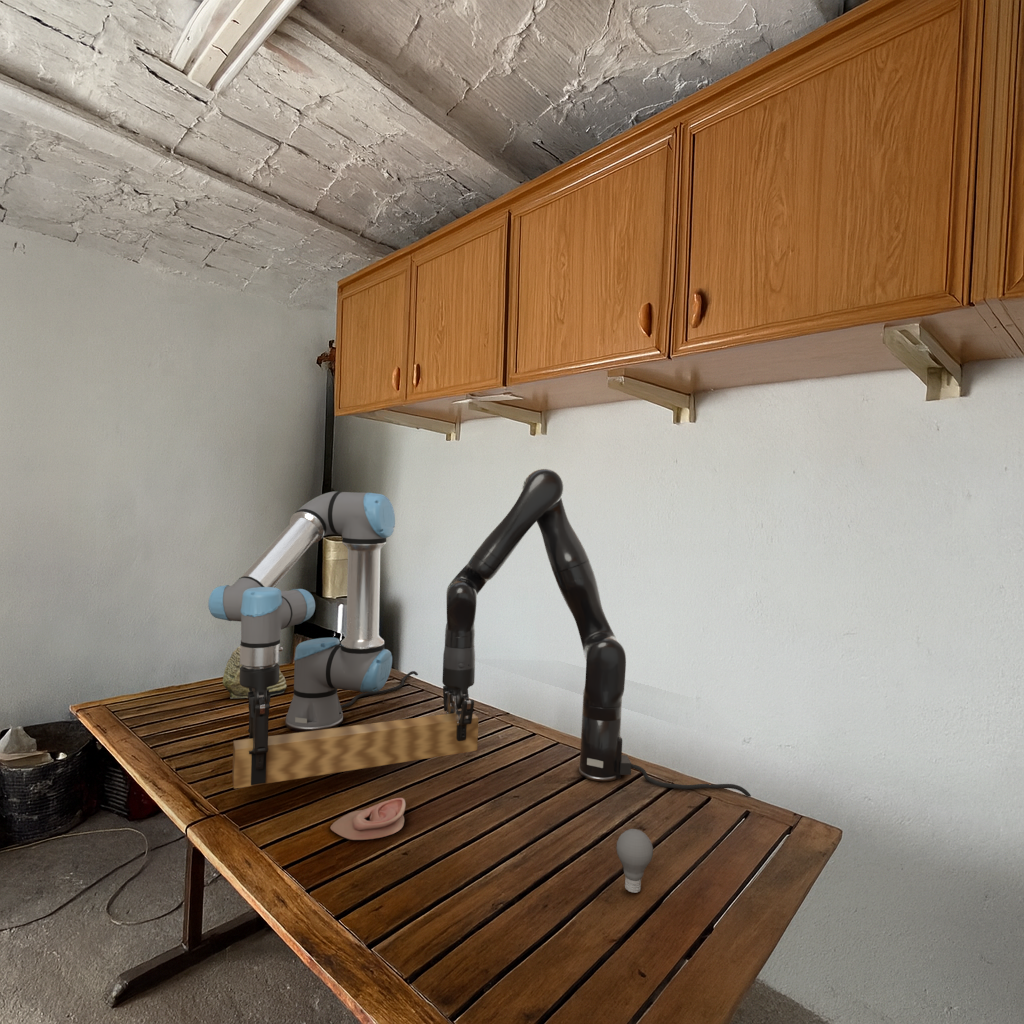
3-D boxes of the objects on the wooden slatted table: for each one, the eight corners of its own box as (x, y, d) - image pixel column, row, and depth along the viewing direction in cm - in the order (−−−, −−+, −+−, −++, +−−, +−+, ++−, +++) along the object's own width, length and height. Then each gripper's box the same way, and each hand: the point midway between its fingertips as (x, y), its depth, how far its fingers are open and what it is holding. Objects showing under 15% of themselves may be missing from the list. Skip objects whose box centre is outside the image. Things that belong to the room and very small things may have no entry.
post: (233, 788, 125) (235, 749, 125) (232, 778, 130) (233, 740, 129) (477, 750, 149) (478, 717, 149) (469, 742, 153) (470, 710, 153)
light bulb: (610, 879, 108) (613, 822, 108) (644, 879, 109) (647, 822, 109) (619, 902, 102) (622, 840, 102) (655, 901, 103) (658, 840, 103)
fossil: (218, 695, 195) (220, 647, 195) (278, 685, 208) (279, 640, 207) (228, 703, 189) (230, 653, 188) (289, 692, 201) (290, 645, 201)
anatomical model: (323, 814, 118) (350, 787, 130) (322, 835, 118) (350, 806, 130) (389, 824, 116) (412, 796, 127) (389, 846, 116) (411, 816, 127)
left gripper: (285, 675, 122) (282, 793, 123) (274, 651, 138) (271, 756, 139) (243, 678, 119) (240, 800, 120) (236, 654, 135) (233, 762, 136)
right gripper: (486, 670, 144) (483, 744, 145) (462, 655, 157) (459, 723, 157) (455, 673, 141) (453, 749, 141) (433, 658, 154) (431, 727, 154)
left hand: (256, 776), depth 129 cm, fingers closed on post, 5 cm apart
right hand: (456, 735), depth 149 cm, fingers closed on post, 5 cm apart
